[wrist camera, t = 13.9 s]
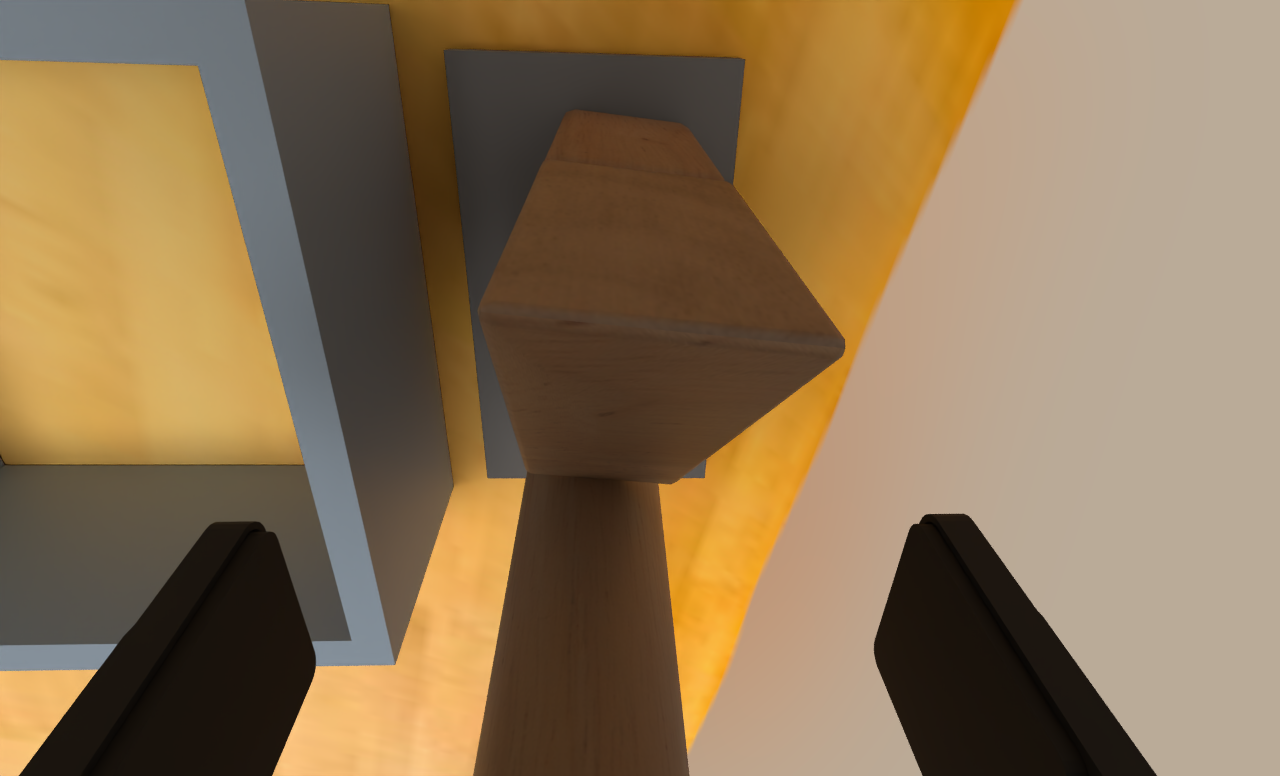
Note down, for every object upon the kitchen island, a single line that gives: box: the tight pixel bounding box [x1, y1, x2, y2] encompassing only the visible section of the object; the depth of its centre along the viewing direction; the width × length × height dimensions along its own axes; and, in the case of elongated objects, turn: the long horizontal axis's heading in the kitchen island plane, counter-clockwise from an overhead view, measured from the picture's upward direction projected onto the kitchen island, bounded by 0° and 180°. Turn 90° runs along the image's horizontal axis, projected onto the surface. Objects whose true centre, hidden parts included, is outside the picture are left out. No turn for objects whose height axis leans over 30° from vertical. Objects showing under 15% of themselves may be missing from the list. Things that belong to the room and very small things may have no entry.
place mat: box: [444, 49, 745, 478], centre depth 21 cm, size 14×8×1 cm, turn 178°
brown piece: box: [473, 109, 845, 776], centre depth 13 cm, size 4×11×18 cm, turn 173°
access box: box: [0, 0, 454, 671], centre depth 18 cm, size 16×17×8 cm
